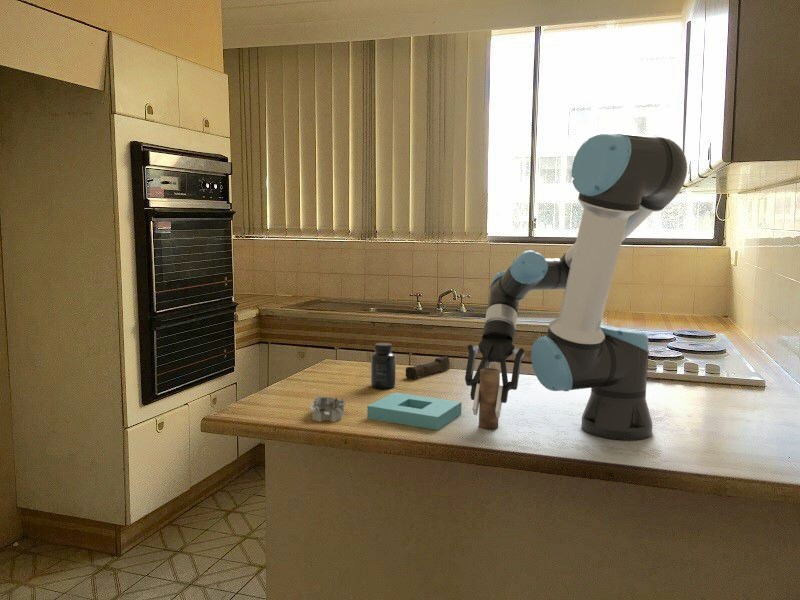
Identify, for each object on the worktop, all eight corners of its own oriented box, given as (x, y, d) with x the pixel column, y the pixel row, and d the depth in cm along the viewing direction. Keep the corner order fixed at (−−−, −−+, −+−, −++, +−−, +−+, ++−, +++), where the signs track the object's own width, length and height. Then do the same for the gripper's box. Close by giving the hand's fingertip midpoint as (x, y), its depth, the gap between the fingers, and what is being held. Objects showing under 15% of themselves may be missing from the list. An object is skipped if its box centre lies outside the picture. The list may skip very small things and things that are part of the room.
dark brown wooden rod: (414, 381, 193) (414, 365, 192) (404, 379, 195) (404, 363, 195) (456, 371, 206) (456, 356, 206) (446, 369, 209) (446, 354, 208)
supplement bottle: (400, 386, 185) (401, 344, 184) (383, 390, 181) (383, 347, 179) (382, 382, 190) (383, 340, 189) (365, 386, 185) (366, 343, 184)
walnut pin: (500, 425, 151) (502, 369, 150) (494, 430, 148) (496, 373, 146) (482, 422, 153) (484, 367, 152) (475, 427, 150) (477, 371, 148)
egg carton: (340, 423, 152) (340, 406, 152) (308, 422, 153) (308, 405, 152) (347, 410, 163) (347, 393, 162) (316, 409, 163) (316, 392, 163)
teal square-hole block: (461, 414, 160) (461, 401, 160) (437, 430, 148) (438, 417, 147) (394, 403, 168) (395, 392, 168) (367, 418, 156) (367, 405, 155)
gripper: (536, 339, 160) (526, 425, 147) (466, 334, 165) (449, 417, 152) (535, 320, 155) (525, 408, 141) (462, 316, 160) (445, 400, 146)
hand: (486, 412), depth 146 cm, fingers closed on walnut pin, 4 cm apart
